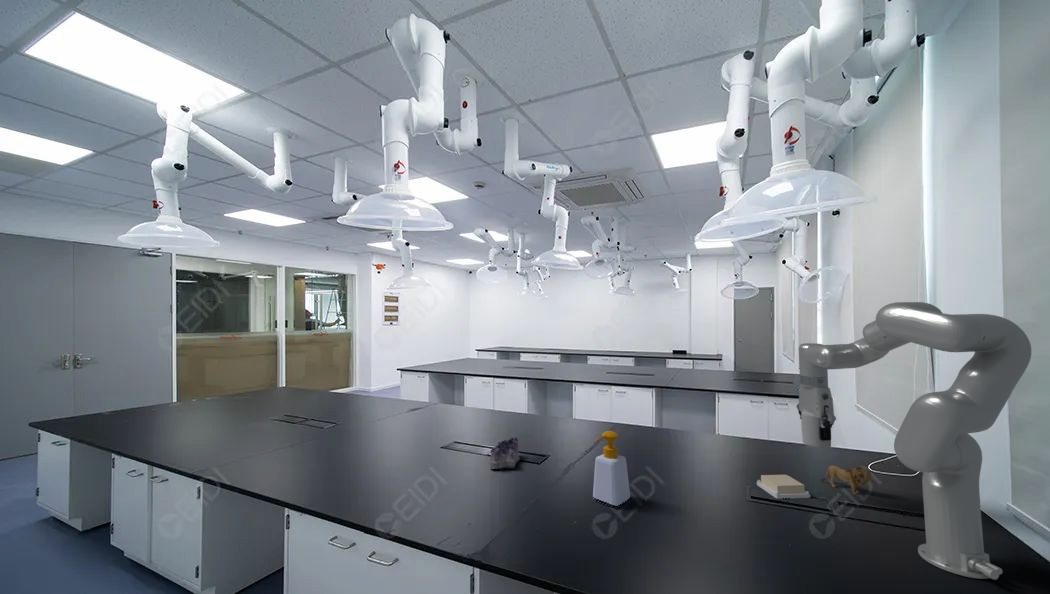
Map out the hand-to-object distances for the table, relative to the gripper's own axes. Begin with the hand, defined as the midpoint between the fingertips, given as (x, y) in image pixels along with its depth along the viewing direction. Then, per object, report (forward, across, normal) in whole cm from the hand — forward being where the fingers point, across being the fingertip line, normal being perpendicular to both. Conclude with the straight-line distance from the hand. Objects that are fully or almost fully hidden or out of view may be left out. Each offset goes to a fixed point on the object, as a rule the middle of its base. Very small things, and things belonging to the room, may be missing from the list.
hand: (816, 435), depth 131 cm
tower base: (+20, +6, +8) cm, 23 cm away
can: (+4, 0, 0) cm, 4 cm away
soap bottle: (+21, 0, +68) cm, 71 cm away
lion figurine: (+21, +7, -15) cm, 26 cm away
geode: (+22, +38, +103) cm, 112 cm away
